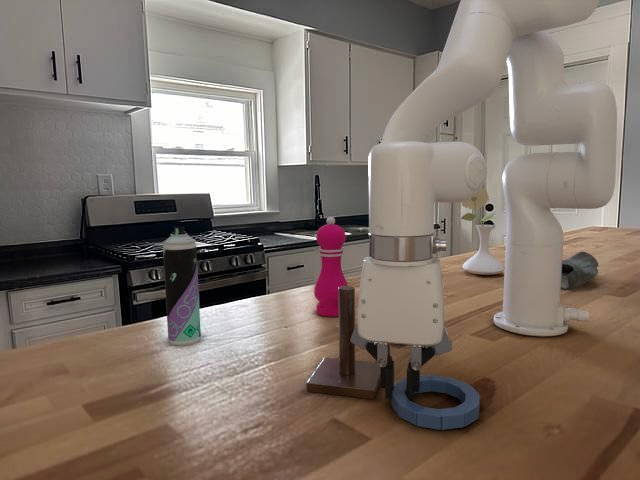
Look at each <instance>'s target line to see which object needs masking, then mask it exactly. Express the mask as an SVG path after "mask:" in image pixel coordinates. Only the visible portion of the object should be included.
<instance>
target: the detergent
mask: <svg viewBox="0 0 640 480" xmlns="http://www.w3.org/2000/svg"><path fill="white" fill-rule="evenodd" d="M598 267H599V262H598V260H597V259H596V257H594V255H592V254H591V253H589V252H586V251H579V252H576V253H574V254H572V255H571V256H570V257H568V258H567V259H562V273H561V289H563V290H567V289H574V288H578V287H581V286H583V285H585V284H586V283H588V282H589V281H590V280H591V279H593V278H594V277H596V276H598V274H599V269H598Z"/></svg>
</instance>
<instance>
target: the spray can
mask: <svg viewBox="0 0 640 480" xmlns="http://www.w3.org/2000/svg"><path fill="white" fill-rule="evenodd" d="M196 242H197V241H196V239H194V238H193V237H191V236H189V234H188V233H187V231H185V226H173V232H171V233H170V236H169V237H168V238H166V239H165V240H163V242H162V243H163V245H162V256H163V272H164V274H163V275H164V290H165V291H164V292H165V309H166V323H167V324H166V325H167V326H166V327H167V339H168V340H167V341H168V343H169V345H171V346H177V347H178V346H179V347H181V346H189V345H194V344H196V343H198V342H200V341H201V339H202V331H201V312H200V309H201V308H200V291H199V290H200V289H199V273H198V272H199V271H198V270H199V269H198V251H197V249H198V247H197V243H196Z"/></svg>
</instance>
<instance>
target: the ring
mask: <svg viewBox="0 0 640 480" xmlns="http://www.w3.org/2000/svg"><path fill="white" fill-rule="evenodd" d="M429 392H434V393H440V394H447V395H449V396H452V397H454V398H456V399H458V400H459V401H460V402H461V403H460V404H458V405H457V406H454V407H445V408H433V407H427V406H422V405H419V404H417V403H415V402H414V401H413V402H412V401H409V399H408V398H407V377H406V378H404V379H402V380H399V381H397V382H396V383H394V388H393V390H392V394H391V398H390V403H391V407H392V408H393V410H394V411H395V413H396V415H397V416H398V417H399V418H401V419H403V420H405V421H406V422H408V423H410V424H412V425H414V426H417V427H419V428H426V429H433V430H439V431H441V430H442V431H446V430H454V429H461V428H462V429H463V428H466V427H467V426H468V425H471V424H472V423H473V422H475V421H476V420H478V419H479V418H480V409H481V395H480V393H479V392H478V391H477V390H476V389H475V388H474V387H473V386H472V385H471V384H469V383H467V382H464V381H462V380H459V379H457V378H454V377H450V376H446V375H439V374H438V375H437V374H420V389H419V392H414V395H416V394H421V393H429Z"/></svg>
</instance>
